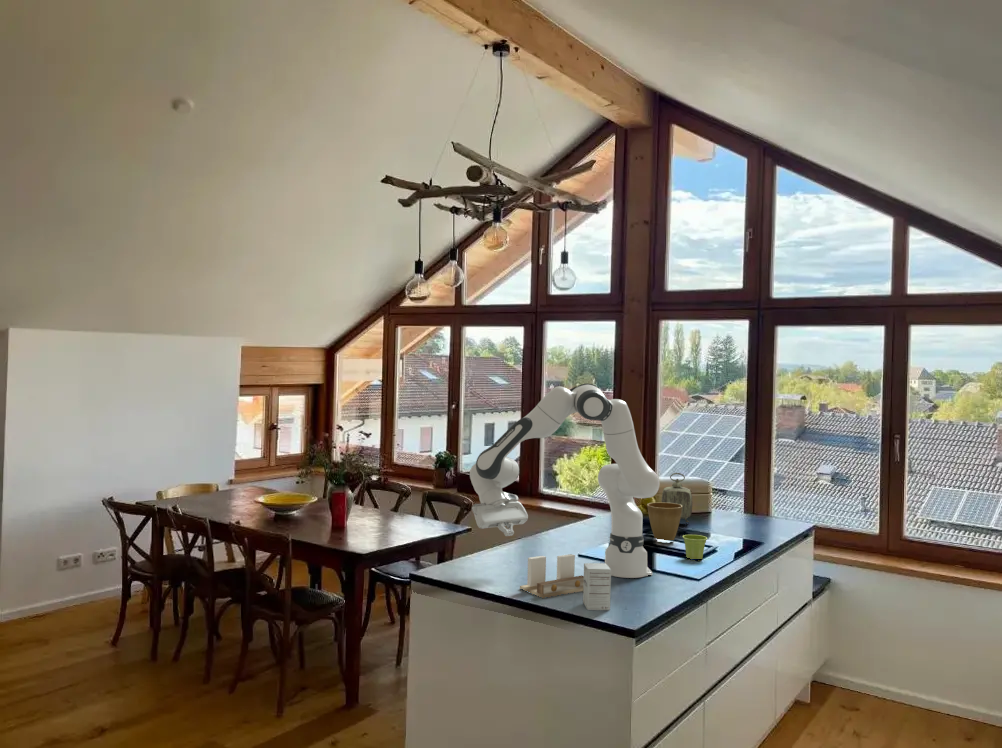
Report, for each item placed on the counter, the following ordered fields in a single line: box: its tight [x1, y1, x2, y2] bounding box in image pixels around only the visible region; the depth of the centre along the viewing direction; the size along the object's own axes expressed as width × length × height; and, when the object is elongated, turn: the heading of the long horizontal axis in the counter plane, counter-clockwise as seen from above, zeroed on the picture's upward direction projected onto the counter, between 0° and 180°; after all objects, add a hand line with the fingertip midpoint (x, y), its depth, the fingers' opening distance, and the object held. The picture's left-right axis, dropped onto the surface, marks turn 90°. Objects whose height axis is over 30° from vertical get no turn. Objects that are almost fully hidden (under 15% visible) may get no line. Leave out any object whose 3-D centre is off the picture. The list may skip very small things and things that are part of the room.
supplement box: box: [582, 562, 612, 611], centre depth 243 cm, size 7×7×13 cm
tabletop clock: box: [661, 472, 693, 523], centre depth 384 cm, size 14×9×25 cm, turn 79°
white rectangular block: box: [526, 555, 547, 587], centre depth 261 cm, size 2×6×9 cm, turn 126°
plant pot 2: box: [682, 534, 708, 560], centre depth 311 cm, size 9×9×9 cm
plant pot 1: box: [646, 501, 682, 540], centre depth 343 cm, size 15×15×16 cm
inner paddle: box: [556, 553, 576, 580], centre depth 264 cm, size 2×6×9 cm, turn 126°
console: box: [519, 575, 584, 599], centre depth 261 cm, size 12×19×4 cm, turn 126°
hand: (510, 534), depth 273 cm, fingers closed
